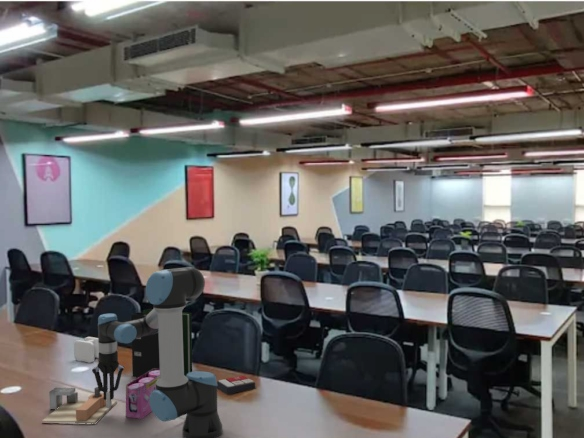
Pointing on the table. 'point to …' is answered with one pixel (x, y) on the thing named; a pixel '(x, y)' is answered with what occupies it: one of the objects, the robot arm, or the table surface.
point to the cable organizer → (86, 349)
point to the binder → (148, 347)
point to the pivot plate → (69, 412)
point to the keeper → (57, 396)
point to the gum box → (141, 394)
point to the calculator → (235, 384)
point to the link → (90, 407)
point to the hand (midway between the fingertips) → (108, 406)
